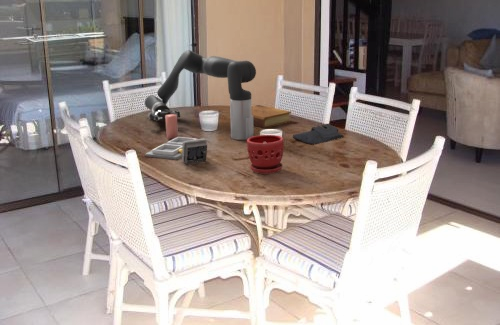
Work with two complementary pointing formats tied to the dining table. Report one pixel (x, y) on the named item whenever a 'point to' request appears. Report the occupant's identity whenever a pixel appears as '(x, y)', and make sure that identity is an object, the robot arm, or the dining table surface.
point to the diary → (269, 116)
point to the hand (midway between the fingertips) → (166, 117)
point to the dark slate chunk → (319, 134)
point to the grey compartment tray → (169, 149)
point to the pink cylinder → (171, 126)
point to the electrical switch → (194, 151)
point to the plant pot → (265, 153)
